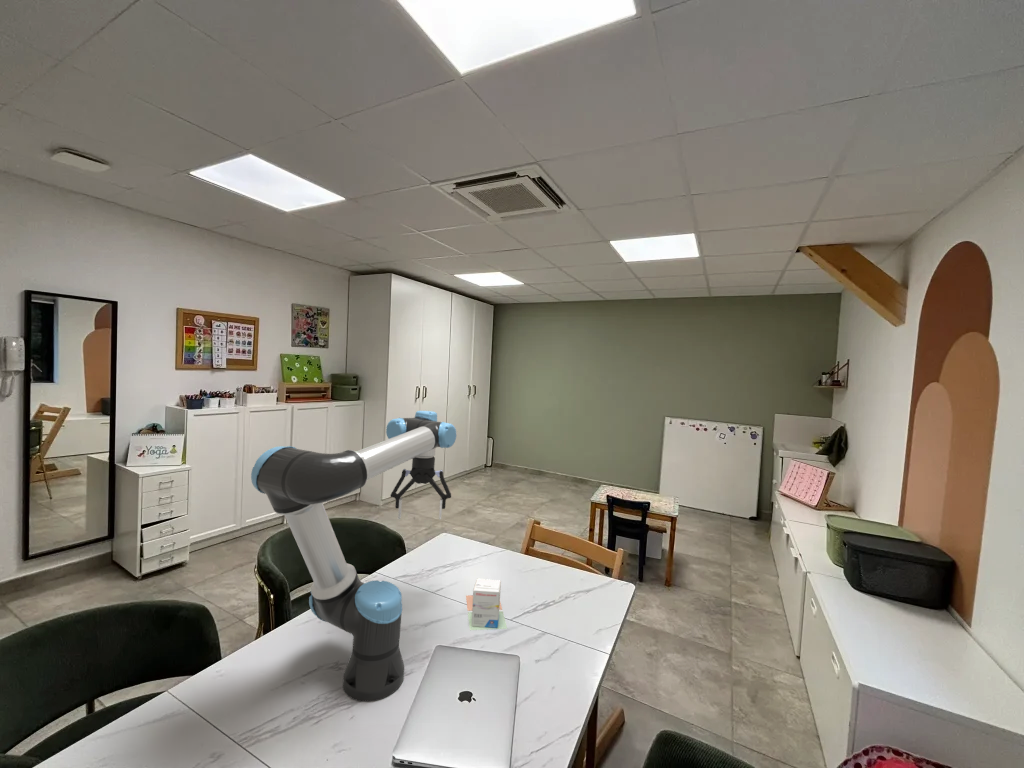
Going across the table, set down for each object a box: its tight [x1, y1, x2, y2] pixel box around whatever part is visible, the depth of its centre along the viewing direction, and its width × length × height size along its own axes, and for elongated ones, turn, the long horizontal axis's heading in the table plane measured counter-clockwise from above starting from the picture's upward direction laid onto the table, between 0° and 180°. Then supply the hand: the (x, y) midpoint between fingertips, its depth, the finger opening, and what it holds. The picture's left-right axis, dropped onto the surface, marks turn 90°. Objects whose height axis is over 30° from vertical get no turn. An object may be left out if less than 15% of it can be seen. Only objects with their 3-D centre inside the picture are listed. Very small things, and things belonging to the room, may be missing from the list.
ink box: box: [471, 578, 502, 628], centre depth 133 cm, size 9×8×12 cm
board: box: [465, 594, 508, 631], centre depth 139 cm, size 22×14×1 cm, turn 10°
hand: (419, 518), depth 139 cm, fingers open, 13 cm apart
